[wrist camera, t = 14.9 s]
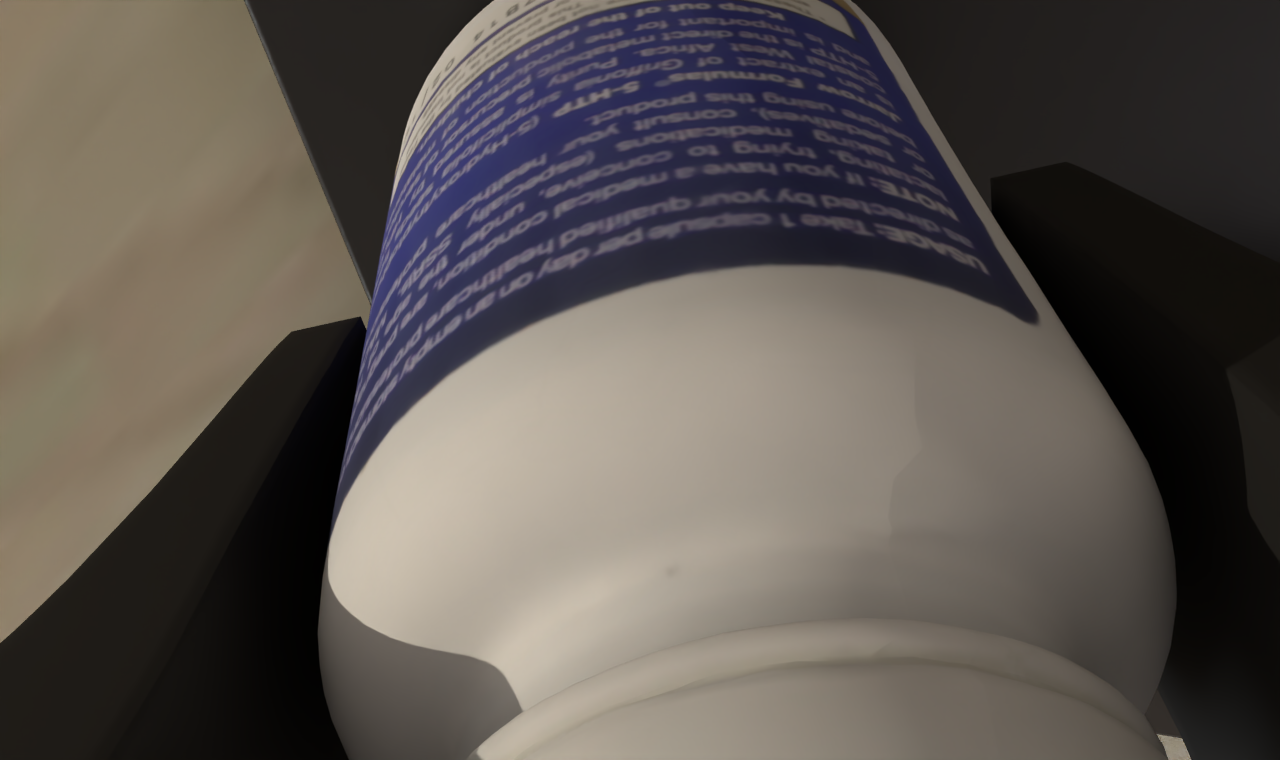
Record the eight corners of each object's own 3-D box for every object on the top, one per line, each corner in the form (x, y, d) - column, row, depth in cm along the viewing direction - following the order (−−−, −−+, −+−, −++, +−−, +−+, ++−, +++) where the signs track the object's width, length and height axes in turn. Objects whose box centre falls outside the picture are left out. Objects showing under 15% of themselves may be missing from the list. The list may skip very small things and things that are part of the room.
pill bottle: (287, 190, 12) (-67, 1222, 5) (684, -209, 10) (1040, 529, 3) (650, 472, 15) (761, 1423, 7) (1021, 196, 13) (1650, 1119, 6)
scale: (1352, 530, 18) (1474, 689, 16) (552, 686, 19) (556, 859, 17) (1572, -574, 10) (1882, -589, 8) (191, -223, 11) (99, -142, 9)
